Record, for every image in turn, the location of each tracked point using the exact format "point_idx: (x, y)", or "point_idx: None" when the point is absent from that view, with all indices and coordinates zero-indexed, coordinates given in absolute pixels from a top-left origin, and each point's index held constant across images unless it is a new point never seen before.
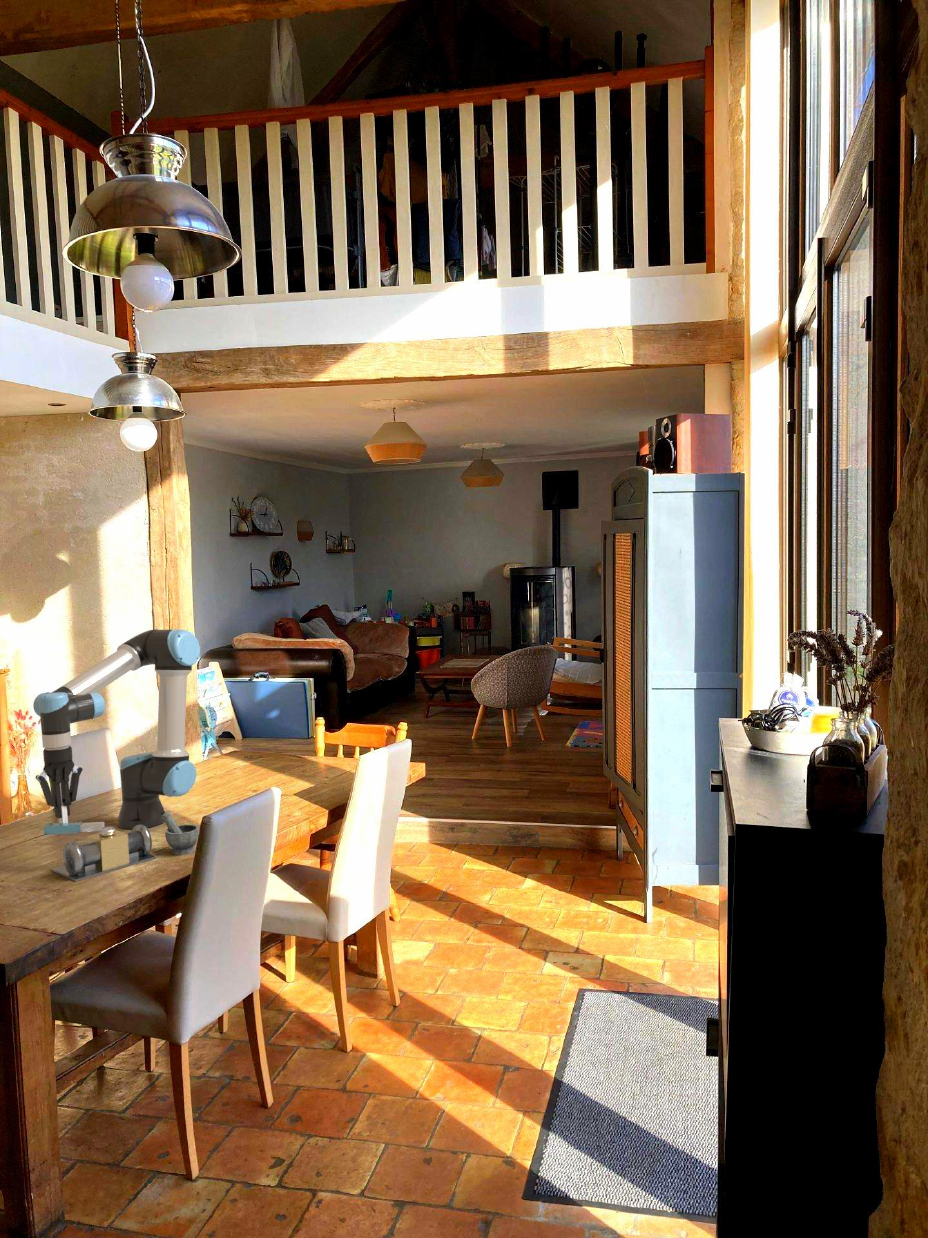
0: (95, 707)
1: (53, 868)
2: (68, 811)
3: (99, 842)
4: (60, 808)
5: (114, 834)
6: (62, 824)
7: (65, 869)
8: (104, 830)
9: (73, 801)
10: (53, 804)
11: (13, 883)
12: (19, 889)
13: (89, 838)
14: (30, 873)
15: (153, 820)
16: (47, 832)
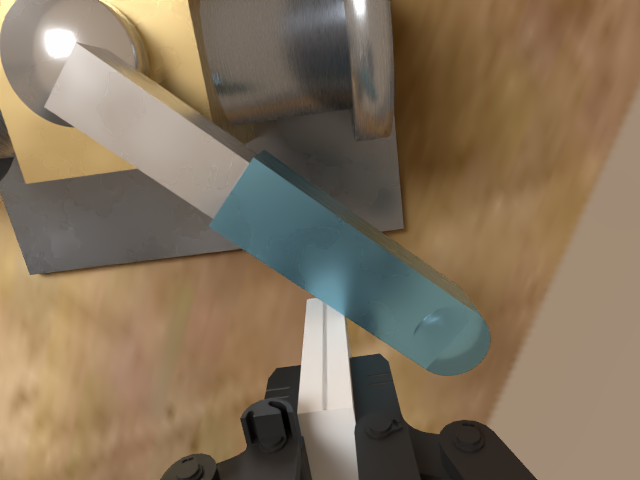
0: None
1: (394, 223)
2: (279, 393)
3: None
4: (360, 417)
5: None
6: (361, 286)
7: (360, 164)
8: (91, 30)
9: (202, 457)
10: (468, 438)
11: (587, 174)
12: (611, 57)
13: (215, 122)
14: (477, 259)
15: None
16: (462, 292)
